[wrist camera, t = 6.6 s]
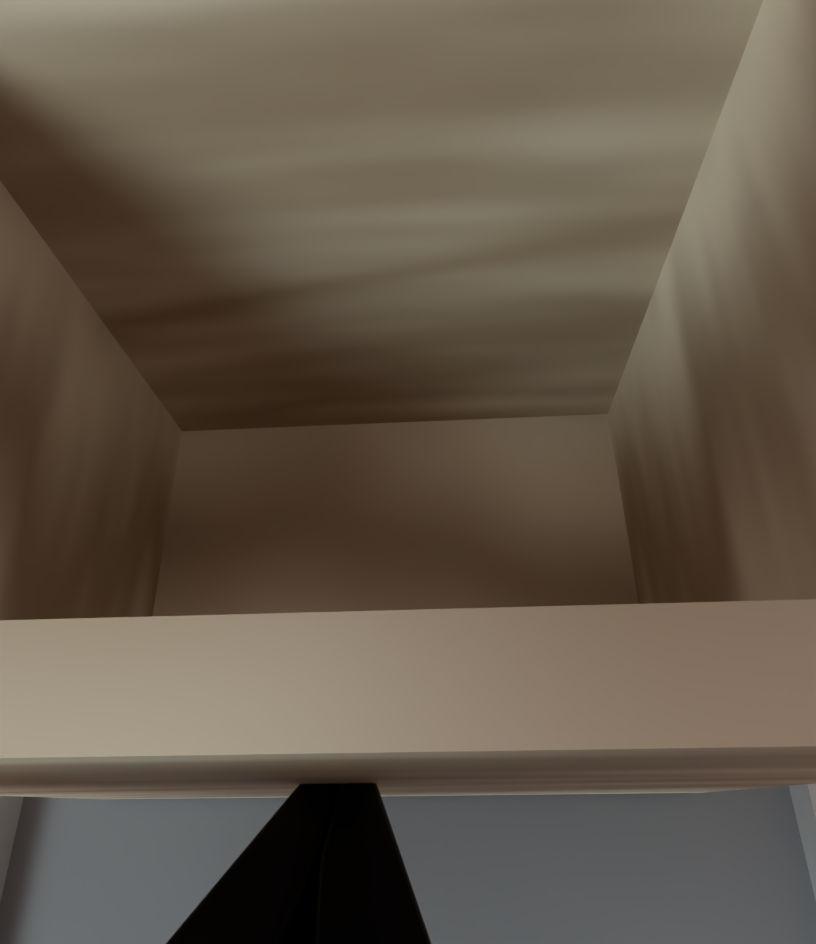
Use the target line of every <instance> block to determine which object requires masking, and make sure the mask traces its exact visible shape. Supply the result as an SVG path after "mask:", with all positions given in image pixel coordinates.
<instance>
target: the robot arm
mask: <svg viewBox="0 0 816 944" xmlns="http://www.w3.org/2000/svg"><path fill="white" fill-rule="evenodd" d="M166 944H432V943H431V940H430V937H429V935H428V932H427V929H426V926H425V923H424V920H423V917H422V914H421V911H420V908H419V905H418V902H417V900H416V897H415V894H414V891H413V888H412V885H411V882H410V879H409V876H408V873H407V870H406V868H405V865H404V862H403V859H402V856H401V853H400V850H399V847H398V844H397V841H396V838H395V835H394V833H393V830H392V827H391V824H390V821H389V818H388V815H387V812H386V809H385V806H384V803H383V800H382V798H381V795H380V792H379V789H378V786H377V783H347V784H299V785H298V786H297V788H296V789H295V790H294V791H293V792H292V793H291V795H290V796H289V797H288V798H287V799H286V801H285V802H284V803H283V804H282V805H281V807H280V808H279V809H278V810H277V811H276V813H275V814H274V815H273V816H272V817H271V819H270V820H269V821H268V822H267V823H266V824H265V826H264V827H263V828H262V829H261V830H260V832H259V833H258V834H257V835H256V836H255V838H254V839H253V840H252V841H251V842H250V844H249V845H248V846H247V847H246V848H245V850H244V851H243V852H242V853H241V854H240V856H239V857H238V858H237V859H236V860H235V861H234V863H233V864H232V865H231V866H230V867H229V869H228V870H227V871H226V872H225V873H224V875H223V876H222V877H221V878H220V879H219V881H218V882H217V883H216V884H215V885H214V887H213V888H212V889H211V890H210V891H209V892H208V894H207V895H206V896H205V897H204V898H203V900H202V901H201V902H200V903H199V904H198V906H197V907H196V908H195V909H194V910H193V912H192V913H191V914H190V915H189V916H188V918H187V919H186V920H185V921H184V922H183V923H182V925H181V926H180V927H179V928H178V929H177V931H176V932H175V933H174V934H173V935H172V937H171V938H170V939H169V940H168V941H167V943H166Z"/></svg>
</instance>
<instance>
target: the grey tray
mask: <svg viewBox="0 0 816 944" xmlns="http://www.w3.org/2000/svg"><path fill="white" fill-rule="evenodd" d="M287 798H288V797H276V798H184V799H77V798H50V797H22V796H0V944H166V943H167V941H168V940H169V939H170V938H171V937H172V935H173V934H174V933H175V932H176V931H177V929H178V928H179V927H180V926H181V925H182V923H183V922H184V921H185V920H186V919H187V918H188V916H189V915H190V914H191V913H192V912H193V910H194V909H195V908H196V907H197V906H198V904H199V903H200V902H201V901H202V900H203V898H204V897H205V896H206V895H207V894H208V892H209V891H210V890H211V889H212V888H213V887H214V885H215V884H216V883H217V882H218V881H219V879H220V878H221V877H222V876H223V875H224V873H225V872H226V871H227V870H228V869H229V867H230V866H231V865H232V864H233V863H234V861H235V860H236V859H237V858H238V857H239V856H240V854H241V853H242V852H243V851H244V850H245V848H246V847H247V846H248V845H249V844H250V842H251V841H252V840H253V839H254V838H255V836H256V835H257V834H258V833H259V832H260V830H261V829H262V828H263V827H264V826H265V824H266V823H267V822H268V821H269V820H270V819H271V817H272V816H273V815H274V814H275V813H276V811H277V810H278V809H279V808H280V807H281V805H282V804H283V803H284V802H285V801H286V799H287ZM381 798H382V800H383V803H384V806H385V809H386V812H387V815H388V818H389V821H390V824H391V827H392V830H393V833H394V835H395V838H396V841H397V844H398V847H399V850H400V853H401V856H402V859H403V862H404V865H405V868H406V870H407V873H408V876H409V879H410V882H411V885H412V888H413V891H414V894H415V897H416V900H417V902H418V905H419V908H420V911H421V914H422V917H423V920H424V923H425V926H426V929H427V932H428V935H429V937H430V940H431V943H432V944H816V784H803V785H791V786H779V787H766V788H754V789H741V790H729V791H717V792H704V793H640V794H549V795H458V796H381Z"/></svg>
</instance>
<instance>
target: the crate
mask: <svg viewBox="0 0 816 944" xmlns="http://www.w3.org/2000/svg"><path fill="white" fill-rule="evenodd" d="M347 783H377V786H378V789H379V792H380V795H381V796H458V795H549V794H640V793H704V792H717V791H729V790H741V789H754V788H766V787H779V786H791V785H803V784H816V0H0V796H22V797H50V798H77V799H184V798H276V797H289V796H290V795H291V793H292V792H293V791H294V790H295V789H296V788H297V786H298V785H299V784H347Z"/></svg>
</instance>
